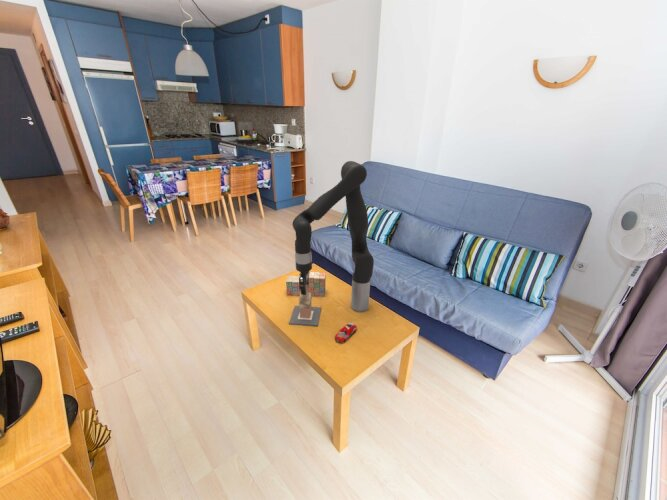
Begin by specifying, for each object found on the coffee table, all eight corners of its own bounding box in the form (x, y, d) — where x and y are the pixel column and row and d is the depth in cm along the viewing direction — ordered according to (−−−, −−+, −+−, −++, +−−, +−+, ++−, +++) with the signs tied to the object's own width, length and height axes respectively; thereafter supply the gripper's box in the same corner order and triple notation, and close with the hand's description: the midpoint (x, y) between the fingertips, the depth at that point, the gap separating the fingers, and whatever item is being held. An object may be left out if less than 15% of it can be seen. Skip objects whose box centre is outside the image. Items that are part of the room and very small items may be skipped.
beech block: (311, 302, 150) (311, 292, 147) (309, 308, 145) (309, 298, 143) (301, 301, 150) (300, 292, 148) (299, 308, 146) (299, 297, 143)
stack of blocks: (286, 295, 167) (285, 277, 161) (288, 289, 172) (287, 271, 167) (324, 297, 166) (325, 278, 161) (325, 290, 172) (325, 272, 166)
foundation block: (311, 312, 153) (311, 302, 150) (309, 318, 148) (309, 308, 145) (301, 311, 153) (301, 301, 150) (299, 317, 149) (299, 307, 146)
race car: (341, 346, 134) (342, 339, 132) (332, 340, 137) (332, 333, 135) (358, 330, 143) (359, 323, 141) (349, 325, 146) (349, 319, 144)
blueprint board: (321, 308, 157) (321, 307, 156) (317, 326, 144) (317, 325, 144) (294, 306, 158) (294, 305, 157) (289, 324, 145) (289, 322, 145)
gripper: (309, 267, 130) (310, 298, 137) (313, 252, 142) (315, 281, 150) (292, 267, 130) (294, 297, 138) (298, 252, 143) (300, 280, 150)
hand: (305, 289), depth 144 cm, fingers open, 8 cm apart
